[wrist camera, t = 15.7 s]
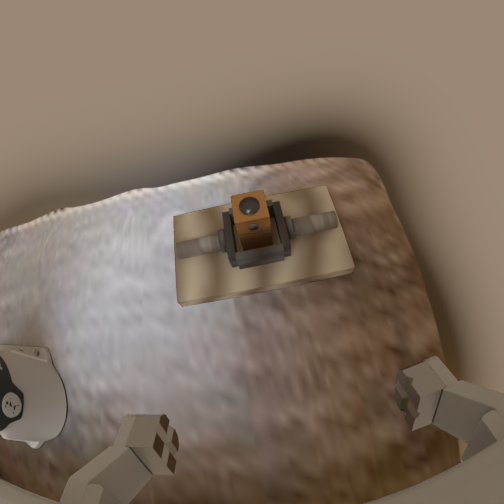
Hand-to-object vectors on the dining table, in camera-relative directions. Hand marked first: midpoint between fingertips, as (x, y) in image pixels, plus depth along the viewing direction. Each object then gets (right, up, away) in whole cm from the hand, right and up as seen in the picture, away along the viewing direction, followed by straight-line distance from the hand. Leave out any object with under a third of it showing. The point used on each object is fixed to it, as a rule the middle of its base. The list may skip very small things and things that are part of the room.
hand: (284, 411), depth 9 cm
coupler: (0, +7, +33) cm, 34 cm away
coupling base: (0, +6, +35) cm, 35 cm away
